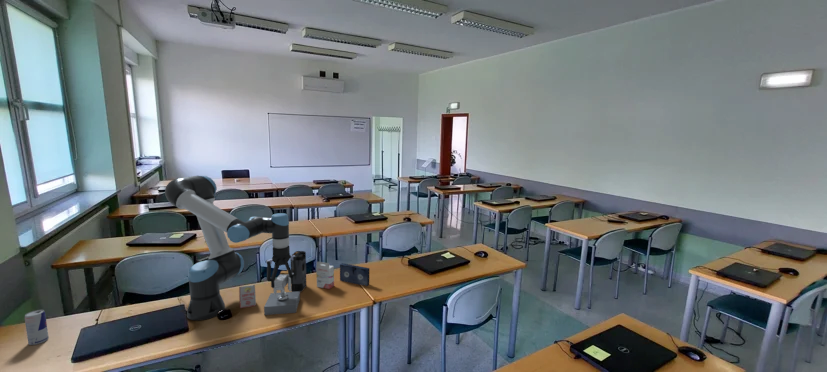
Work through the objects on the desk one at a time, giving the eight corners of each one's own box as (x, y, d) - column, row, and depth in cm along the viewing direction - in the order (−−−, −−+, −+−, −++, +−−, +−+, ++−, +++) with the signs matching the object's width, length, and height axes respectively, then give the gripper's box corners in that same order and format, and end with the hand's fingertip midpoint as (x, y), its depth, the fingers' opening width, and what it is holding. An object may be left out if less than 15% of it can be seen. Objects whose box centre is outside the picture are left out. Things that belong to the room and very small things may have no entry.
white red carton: (240, 304, 163) (239, 285, 162) (255, 302, 166) (254, 283, 165) (239, 308, 160) (238, 288, 159) (255, 305, 163) (254, 286, 161)
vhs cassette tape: (369, 284, 189) (369, 267, 188) (367, 286, 187) (367, 269, 185) (342, 278, 196) (342, 262, 195) (339, 280, 193) (339, 264, 192)
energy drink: (52, 337, 134) (48, 309, 132) (38, 345, 129) (34, 316, 127) (39, 337, 134) (35, 309, 132) (24, 345, 128) (19, 316, 127)
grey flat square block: (264, 315, 154) (264, 306, 154) (271, 300, 168) (270, 292, 167) (295, 312, 157) (295, 304, 156) (299, 298, 171) (299, 291, 170)
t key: (284, 303, 157) (283, 280, 155) (273, 303, 156) (272, 280, 155) (291, 292, 167) (290, 270, 166) (281, 292, 167) (280, 270, 166)
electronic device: (301, 292, 177) (300, 256, 174) (290, 292, 177) (289, 256, 175) (307, 285, 186) (306, 250, 184) (296, 284, 187) (295, 250, 184)
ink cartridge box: (334, 285, 187) (334, 260, 185) (329, 289, 182) (329, 263, 180) (321, 283, 189) (320, 258, 187) (316, 287, 185) (315, 261, 182)
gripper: (298, 240, 167) (299, 284, 170) (257, 247, 156) (259, 293, 159) (303, 244, 161) (304, 289, 164) (261, 251, 150) (263, 300, 153)
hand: (282, 291), depth 161 cm, fingers closed on t key, 6 cm apart
